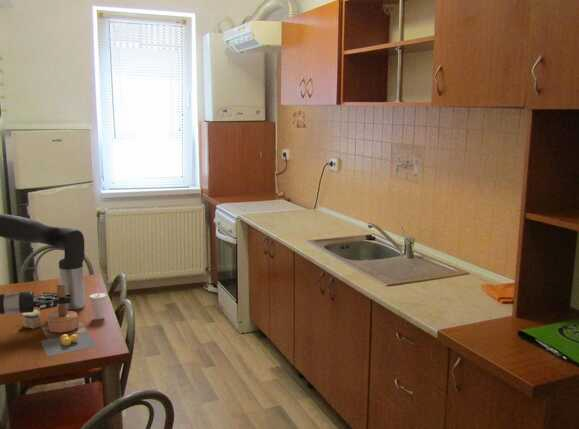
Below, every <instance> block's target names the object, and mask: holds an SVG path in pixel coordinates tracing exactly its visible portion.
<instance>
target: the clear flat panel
mask: <svg viewBox="0 0 579 429" xmlns="http://www.w3.org/2000/svg"><path fill="white" fill-rule="evenodd" d="M78 320H79V327H77V328H76V329H74V330H72V331H67V332H61V333H58V332H50V331H49V329H48V324H47V325H43V326H42V325H41V326H40V329H41V330H42V333H43V335H44V336H45V340H48V339H53V338H59V337H61V336H62V335H64V334H67V335H68V336H70V335H73V334H81V333H86V332H88V330H87V328H86V327H85V326H84V324H83V322H82V321H81V319H78ZM88 333H89V332H88Z"/></svg>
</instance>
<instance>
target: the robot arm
mask: <svg viewBox="0 0 579 429" xmlns="http://www.w3.org/2000/svg"><path fill="white" fill-rule="evenodd" d="M0 238H3V239H7V240H11V241H15V242H21V243H27V244H38V243H39V244H44V245H47V246H50V247H53V248H56V249H58V250H62V251H64V258H61V259H59V261H58V272H59V273H58V274H59V283H65V284H66V297H63V298H57V292H45V291H44V292H42V293H41V294H39V295H35V294H34V291H32V290H31V291H19V292H11V293H10V292H9V293H1V294H0V315H16V314H22V313H29V312H33V311H34V309H35V308H39V310H40V311H43V310H47V309H52V308H58V305H59V304H67V311H74V310H75V311H76V310H78V309H79V310H81V309H82V308H85V306H86V296H85V295H86V294H85V278H84V277H85V276H84V264H83V263H84V260H85V236H84V234H83V232H82V231H80V230H79V229H76V228H72V227H71V228H70V227H63V226H62V227H60V226H52V225H51V226H50V225H46V224H43V223H41V222H39V221H37V220H35V219H32V218H28V217H23V216H19V215H13V214H6V213H0Z"/></svg>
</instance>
